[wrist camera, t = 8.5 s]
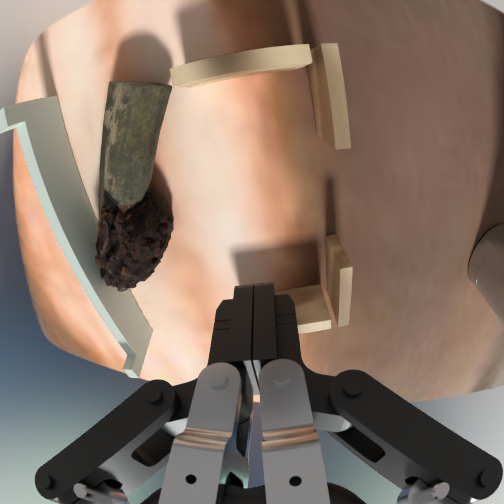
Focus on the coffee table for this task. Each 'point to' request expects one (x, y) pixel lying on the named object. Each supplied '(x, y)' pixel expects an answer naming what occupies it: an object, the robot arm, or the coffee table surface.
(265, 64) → the socket block
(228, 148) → the coffee table surface
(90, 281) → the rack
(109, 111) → the dark elongated piece
